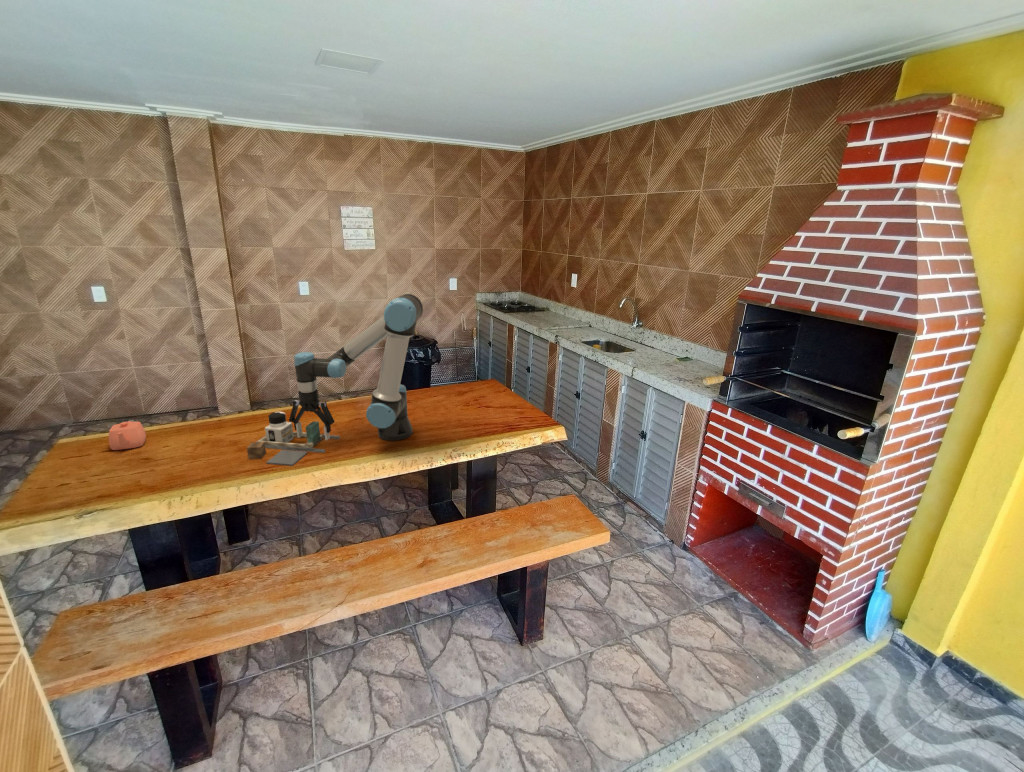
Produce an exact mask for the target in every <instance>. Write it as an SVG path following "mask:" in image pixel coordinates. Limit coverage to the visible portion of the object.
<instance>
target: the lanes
mask: <svg viewBox="0 0 1024 772" xmlns="http://www.w3.org/2000/svg"><path fill="white" fill-rule="evenodd" d="M265 436H266V434H265V435H264V436H263V437H265ZM340 436H341V435H331V434H330V438H329V439H330V440H340V439H341V437H340ZM263 437H261V438H259V439H258V440H256V441H255V442H258V441H259V440H260V439H262V438H263ZM324 439H325V434H324ZM329 439H328V440H329ZM265 449H273V450H274V449H275V450H291V451H303V452H309V453H310V452H311V453H320V454H321V453H323V454H325V453H326V449H324V448H314V447H313V448H303V447H290V446H278V445H266V444H265Z"/></svg>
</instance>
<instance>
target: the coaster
mask: <svg viewBox="0 0 1024 772" xmlns="http://www.w3.org/2000/svg"><path fill="white" fill-rule="evenodd" d="M307 454H308V451H296V450H284V449H280V451H279V452H278V453H276V454H275V455H274V456H272V457H271V458H270V459H268V461H267V460H266V464H267V465H268V464H269V465H279V466H290V467H291V466H294V465H295V464H297V463H298V462H299V461H300V460H301V459H303V458H304V457H305V456H306V455H307Z"/></svg>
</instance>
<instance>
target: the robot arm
mask: <svg viewBox="0 0 1024 772" xmlns="http://www.w3.org/2000/svg"><path fill="white" fill-rule="evenodd" d="M423 313H424V305H423V303H422V301H421V300H420V299H419V297H418V296H416V295H414V294H411V293H404V294H402V295H400V296H398V297H397V298H394V299H392V300H390V301H389V302H388V303H387V305H386V306H385V308H384V312H383V315H382V316H381V317H380V318H378V319H377V320H376V321H375V322H374V323H372V324H371V325H370V326H368V327H367V328H365V329H364V330H363V331H362V332H361V333H359V334H358V335H357V336H355V337H354V338H353V339H351V340H350V341H349V342H347V343H345V345H344V346H342V347H341V348H339V349H338V350H337V351H335V352H333V354H331V355H330V356H328V357H327V358H319V357H318V358H317V357H315V355H314V353H313V352H311V351H310V352H309V351H302V352H298V353H296V354H294V356H293V360H294V361H293V362H294V365H293V366H294V369H295V376H296V385H297V393H298V394H297V395H298V399H294V400H293V401H292V402H291V403H292V408H291V411H290V415H289V419H288V421H289V422H291V423H293V426H294V430H295V431H296V432H297V437H296V438H297V439H300V438H302V437H301V436H303V434H302V432H303V427H302V422H301V421H300V420H301V418H302V416H303V415H304V413H305V412H306V413H307V412H311V413H314V414H315V415H317V417H318V418H319V420H320V421H321V422H322V424H324V425H323V431H324V432H323V434H324V435H325V438H324V440H325V441H329V438H330V435H331V434H330V433H331V431H332V429H331V427H332V425H333V424H334V423H335V419H334V418H333V415H332V414H331V412H330V410H329V408H328V404H327V401H323V402H321V401H320V400H319V390H318V379H317V378H332V379H335V378H336V379H337V378H338V379H339V378H344V376H345V374H346V372H347V367H349V366H350V365H352V364H353V363H354V362H355V361H356V360H358V358H361V356H363V355H364V354H366V353H367V352H368V351H370V350H371V349H372V348H374V347H375V346H377V345H378V344H379V343H380V342H382V341H383V340H385V338H386V340H385V344H384V351H383V357H382V361H381V366H380V372H379V377H378V384H377V388H376V389H374V390H373V391H372V393H371V399H370V405H369V406H368V407H367V408H366V412H365V416H366V419H367V421H368V422H369V423H370V425H372V426H373V427H375V428H377V436H378V438H380V439H382V440H384V441H391V442H392V441H393V442H394V441H401V440H404V439H405V440H406V439H407V438H409V437H411V436H412V435H413V433H414V431H413V426H412V424H411V420H410V419H409V415H408V397H407V395H408V394H407V393H408V392H407V388H406V387H407V386H406V385H404V384H401V381H402V377H403V372H404V366H405V363H406V358H407V353H408V347H409V342H410V338H412V337H413V336H415V332H416V327H417V323H418V321H419V319H420V318H421V317H422V315H423ZM299 406H300V407H301V408H300V410H299V412H298V409H299ZM297 412H298V413H297Z"/></svg>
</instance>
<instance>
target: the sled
mask: <svg viewBox="0 0 1024 772" xmlns="http://www.w3.org/2000/svg"><path fill="white" fill-rule="evenodd" d="M320 430H321V429H320V422H319V421H315V420H314V421H312V422H310V423H309V424H308V425H306V426H305V431H306V432H304V431H302V434H303V436H301V437H300V438H306V440H307V442H306V443H293V442H288V443H284V442H272V441H267V439H266V436H265V435H264V436H265V437H264V436H263V438H262V437H261V438H262V439H261V438H259V439H260V440H259V439H258V440H259V441H258V440H257V441H258V442H264V443H265V444H266V445H278V446H290V447H303V448H314V447H316V446H317V445H318V444H319V443H321V441H323V440H325V438H324V435H325V434H324V433H320V432H321V431H320ZM293 435H294V438H298V437H297V431H293Z"/></svg>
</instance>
